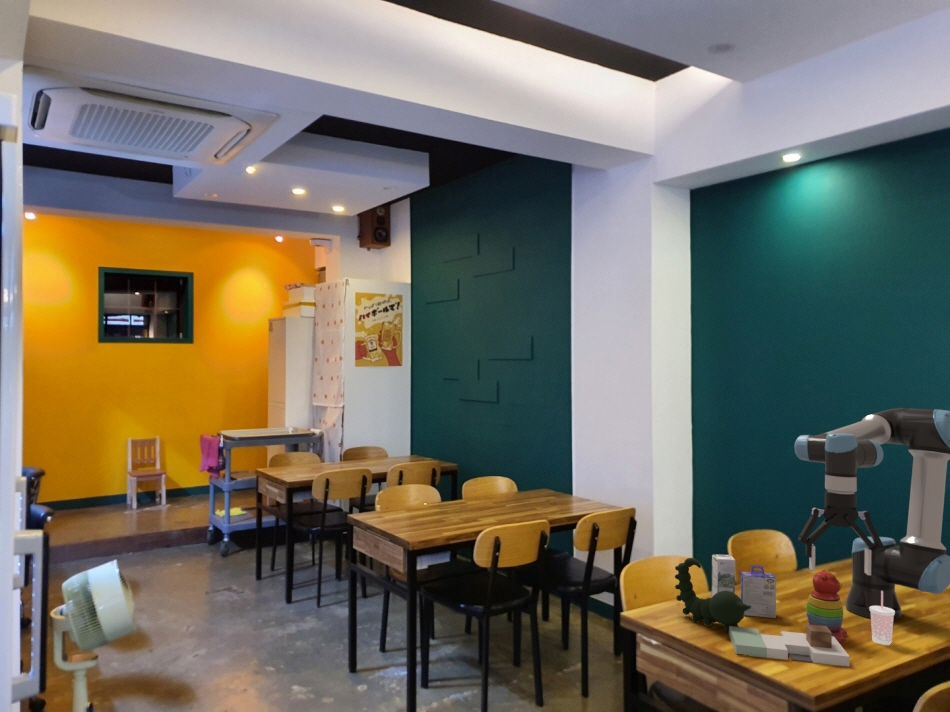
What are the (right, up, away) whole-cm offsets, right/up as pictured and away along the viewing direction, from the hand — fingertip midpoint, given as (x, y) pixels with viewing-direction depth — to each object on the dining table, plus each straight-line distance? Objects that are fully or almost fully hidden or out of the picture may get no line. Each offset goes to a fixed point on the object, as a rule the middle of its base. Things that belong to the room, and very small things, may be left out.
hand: (839, 571), depth 183 cm
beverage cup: (+16, -22, +8) cm, 28 cm away
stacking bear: (+2, -22, +12) cm, 25 cm away
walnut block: (-6, -19, -1) cm, 20 cm away
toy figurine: (-28, -22, +18) cm, 40 cm away
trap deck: (-14, -21, +1) cm, 25 cm away
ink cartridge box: (-10, -22, +28) cm, 37 cm away
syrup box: (-17, -22, +40) cm, 49 cm away
